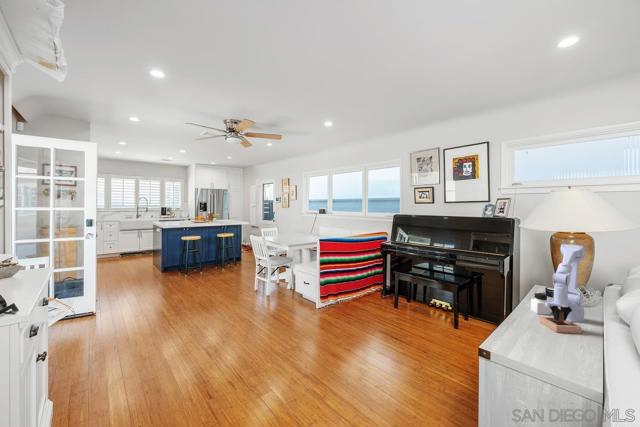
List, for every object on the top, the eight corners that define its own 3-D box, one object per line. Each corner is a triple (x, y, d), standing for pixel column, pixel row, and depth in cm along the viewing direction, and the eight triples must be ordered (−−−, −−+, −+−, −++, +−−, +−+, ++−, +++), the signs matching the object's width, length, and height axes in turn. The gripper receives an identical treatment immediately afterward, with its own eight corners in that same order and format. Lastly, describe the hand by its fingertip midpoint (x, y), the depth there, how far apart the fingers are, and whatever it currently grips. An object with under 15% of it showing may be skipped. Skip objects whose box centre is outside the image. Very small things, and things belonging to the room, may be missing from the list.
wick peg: (560, 322, 147) (560, 309, 146) (565, 324, 143) (565, 312, 143) (554, 322, 147) (554, 309, 147) (559, 324, 144) (559, 311, 144)
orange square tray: (562, 323, 151) (562, 317, 151) (581, 333, 139) (581, 327, 139) (539, 322, 152) (540, 316, 152) (556, 332, 140) (556, 326, 140)
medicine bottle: (550, 315, 162) (551, 295, 162) (537, 314, 164) (537, 294, 164) (543, 310, 169) (543, 292, 169) (530, 309, 171) (531, 291, 171)
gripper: (552, 297, 141) (551, 322, 142) (581, 298, 140) (580, 323, 140) (542, 292, 148) (541, 316, 149) (570, 293, 147) (569, 318, 147)
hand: (559, 319), depth 145 cm, fingers closed on wick peg, 3 cm apart
